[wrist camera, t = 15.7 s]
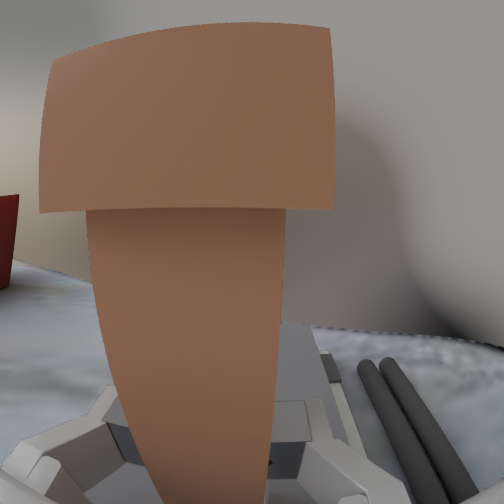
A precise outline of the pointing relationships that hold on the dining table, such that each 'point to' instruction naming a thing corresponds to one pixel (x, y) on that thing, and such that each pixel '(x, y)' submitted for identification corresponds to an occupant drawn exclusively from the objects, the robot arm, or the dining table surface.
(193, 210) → the breaker handle
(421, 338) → the dining table surface
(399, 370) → the twin grey rods
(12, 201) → the plant pot
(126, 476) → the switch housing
